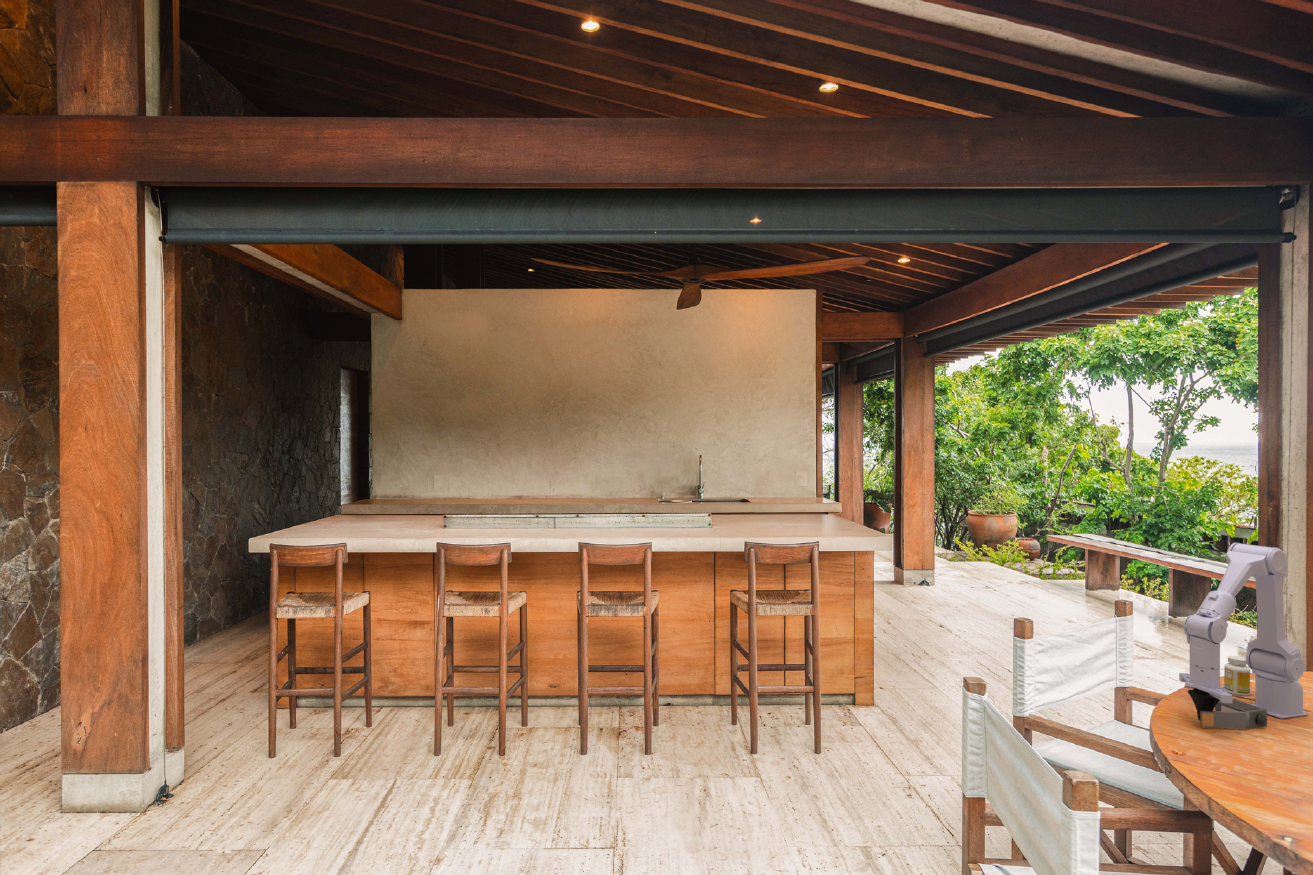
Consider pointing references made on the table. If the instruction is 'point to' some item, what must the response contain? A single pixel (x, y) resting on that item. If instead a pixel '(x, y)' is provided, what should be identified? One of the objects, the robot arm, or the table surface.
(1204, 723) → the side door
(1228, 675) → the supplement bottle
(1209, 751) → the table surface
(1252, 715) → the camera body
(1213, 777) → the table surface
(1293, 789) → the table surface
